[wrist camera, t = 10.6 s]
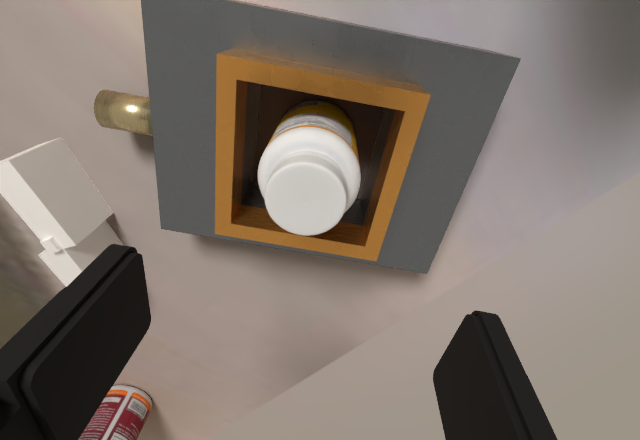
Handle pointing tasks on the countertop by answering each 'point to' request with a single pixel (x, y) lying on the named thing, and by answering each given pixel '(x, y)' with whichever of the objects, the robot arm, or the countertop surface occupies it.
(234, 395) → the countertop surface
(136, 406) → the pill bottle
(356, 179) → the supplement bottle
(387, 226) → the grey bottle holder
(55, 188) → the white angular block
